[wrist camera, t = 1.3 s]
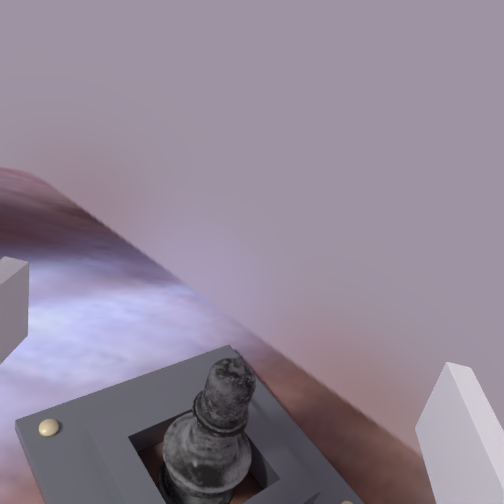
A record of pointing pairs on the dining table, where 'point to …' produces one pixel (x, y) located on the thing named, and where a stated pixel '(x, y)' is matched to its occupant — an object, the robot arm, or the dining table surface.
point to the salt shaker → (210, 439)
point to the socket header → (152, 432)
